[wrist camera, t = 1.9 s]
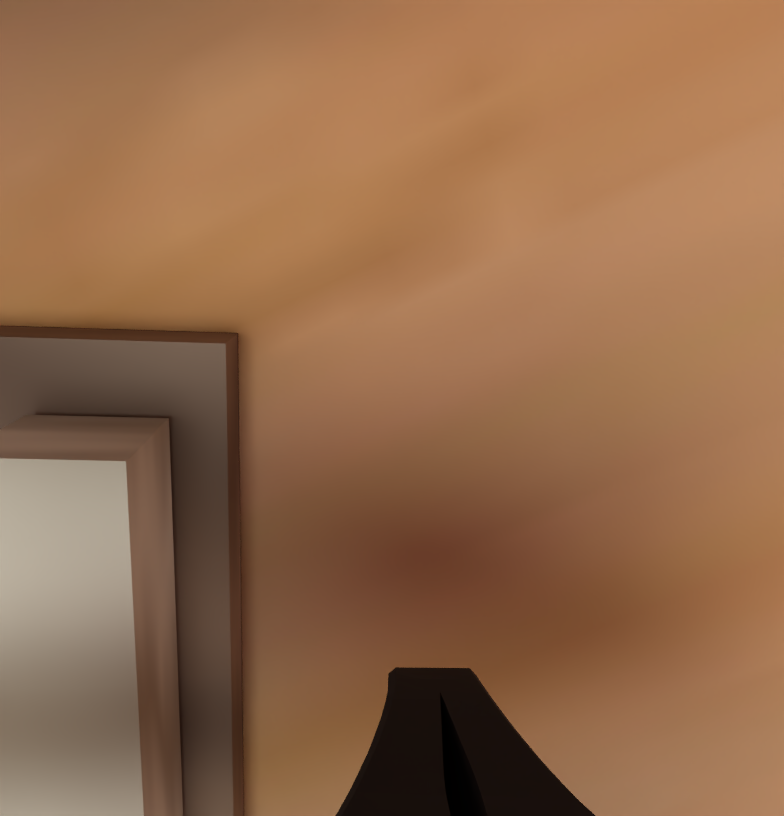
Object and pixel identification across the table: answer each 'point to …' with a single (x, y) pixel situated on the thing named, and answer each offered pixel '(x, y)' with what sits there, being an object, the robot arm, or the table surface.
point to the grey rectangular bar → (88, 619)
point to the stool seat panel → (191, 505)
